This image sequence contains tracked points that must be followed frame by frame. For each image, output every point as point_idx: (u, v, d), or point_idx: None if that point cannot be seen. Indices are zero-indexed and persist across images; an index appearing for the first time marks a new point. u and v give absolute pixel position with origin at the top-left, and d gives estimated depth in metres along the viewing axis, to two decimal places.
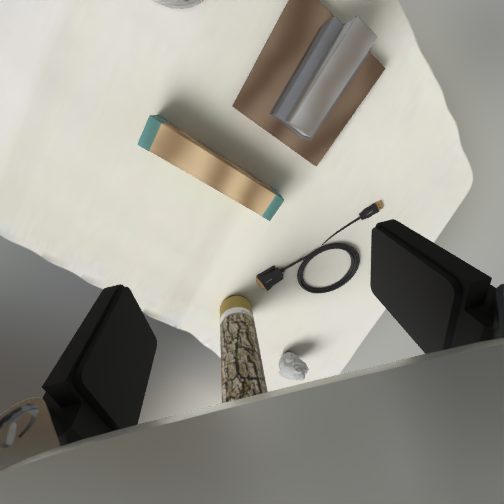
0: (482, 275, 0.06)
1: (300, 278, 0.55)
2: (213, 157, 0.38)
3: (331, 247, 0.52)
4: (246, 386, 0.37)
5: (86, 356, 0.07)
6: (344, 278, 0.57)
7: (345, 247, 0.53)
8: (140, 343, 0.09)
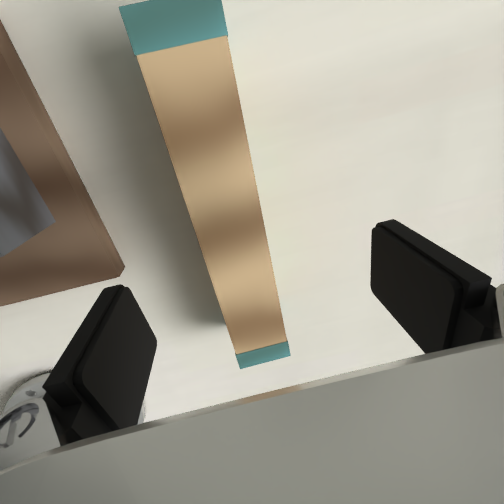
0: (482, 275, 0.06)
1: None
2: (210, 267, 0.16)
3: None
4: None
5: (86, 356, 0.07)
6: None
7: None
8: (140, 343, 0.09)
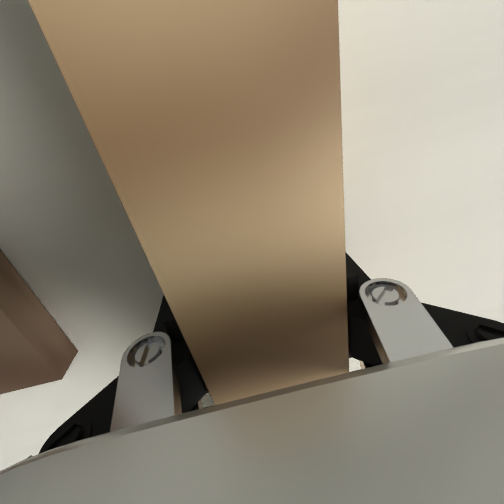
0: (352, 272, 0.07)
1: None
2: None
3: None
4: None
5: None
6: None
7: None
8: None
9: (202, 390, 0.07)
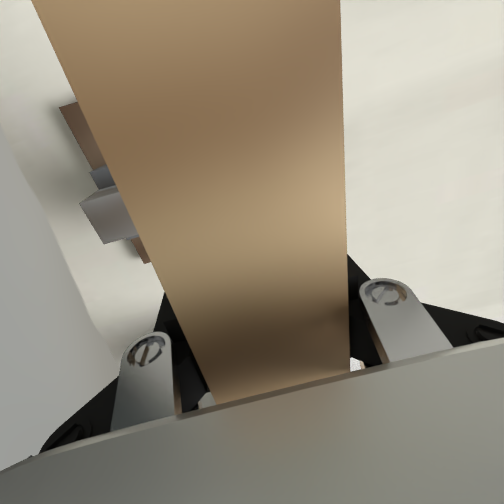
0: (352, 272, 0.07)
1: None
2: None
3: None
4: None
5: None
6: None
7: None
8: None
9: (202, 390, 0.07)
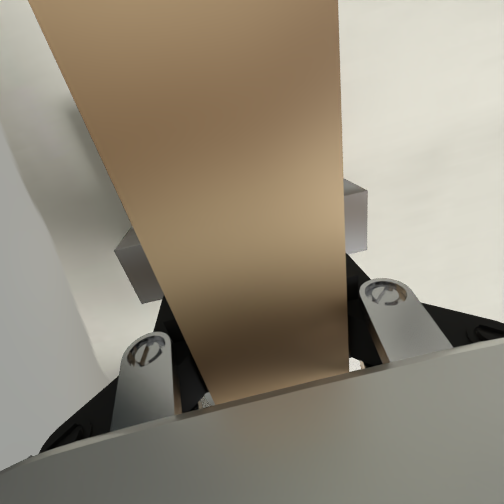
0: (351, 272, 0.07)
1: None
2: None
3: None
4: None
5: None
6: None
7: None
8: None
9: (202, 390, 0.07)
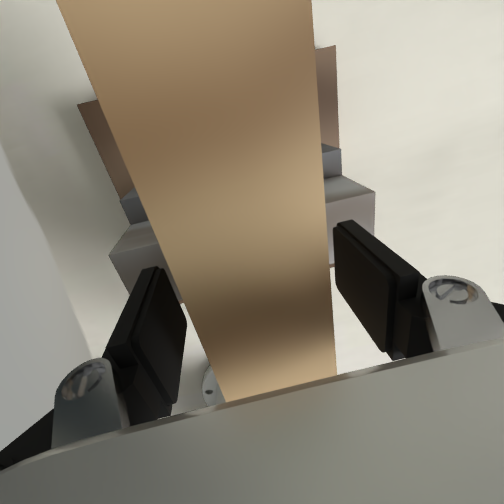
0: (412, 269, 0.07)
1: None
2: (222, 379, 0.09)
3: None
4: None
5: (139, 324, 0.07)
6: None
7: None
8: (175, 320, 0.10)
9: (151, 418, 0.07)
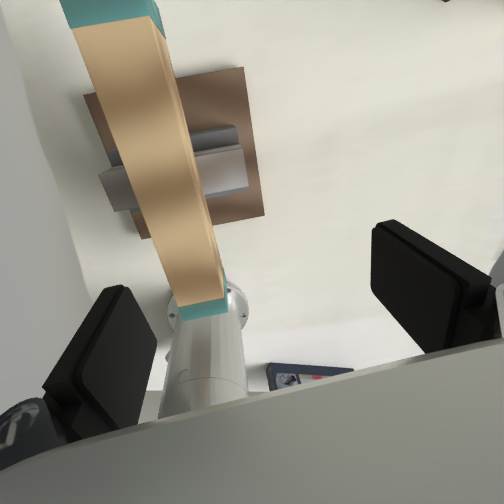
0: (482, 275, 0.06)
1: None
2: (148, 223, 0.19)
3: None
4: None
5: (86, 356, 0.07)
6: None
7: None
8: (140, 343, 0.09)
9: None
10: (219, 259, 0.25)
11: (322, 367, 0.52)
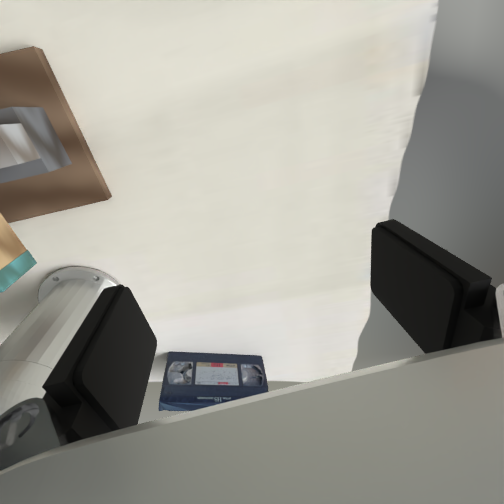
0: (482, 275, 0.06)
1: None
2: None
3: None
4: None
5: (86, 356, 0.07)
6: None
7: None
8: (140, 343, 0.09)
9: None
10: (9, 240, 0.25)
11: (226, 355, 0.51)
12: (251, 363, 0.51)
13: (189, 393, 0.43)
